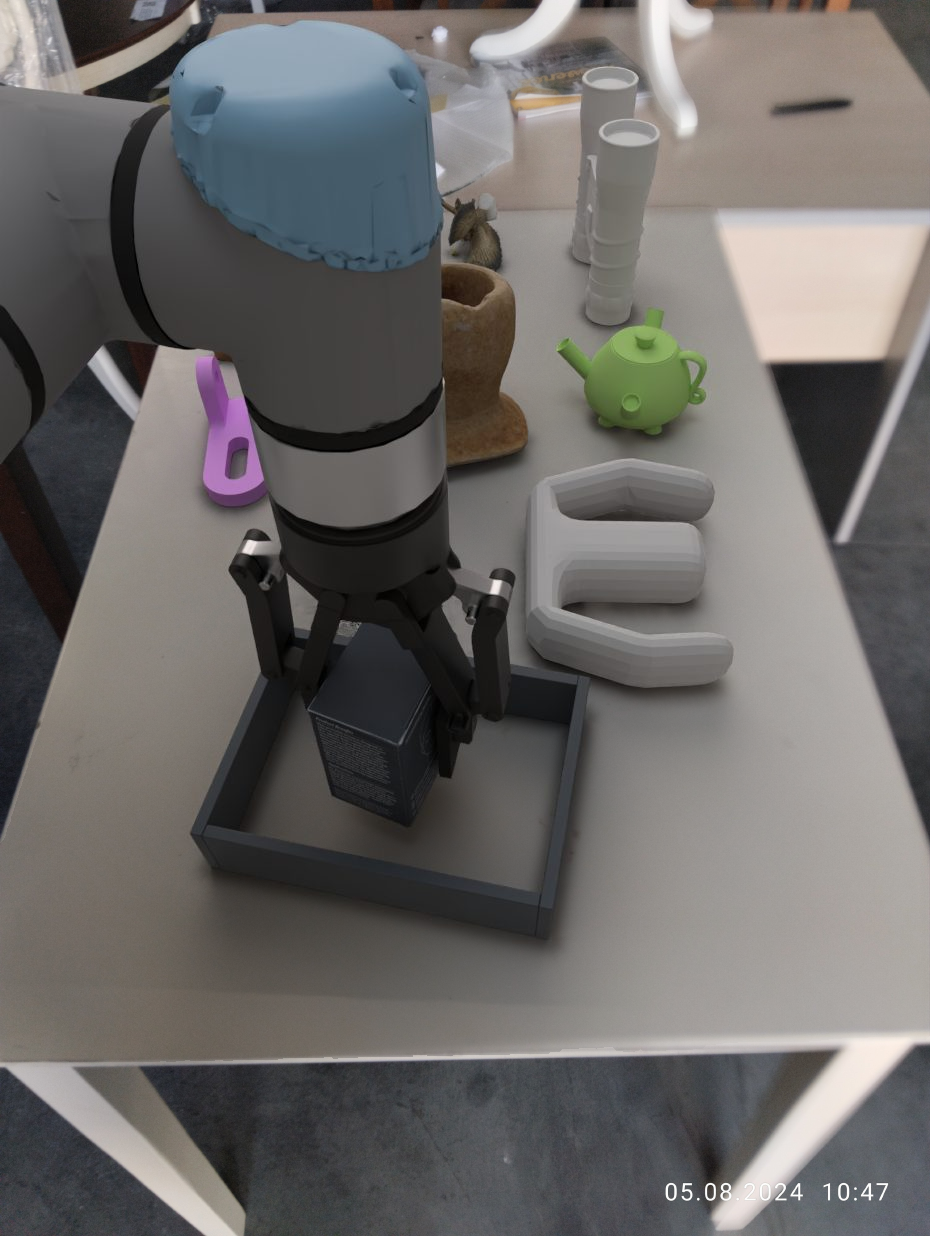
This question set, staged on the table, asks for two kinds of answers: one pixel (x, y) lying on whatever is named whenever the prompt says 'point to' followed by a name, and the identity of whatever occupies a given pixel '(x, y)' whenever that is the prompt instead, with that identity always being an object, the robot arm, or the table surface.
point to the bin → (370, 877)
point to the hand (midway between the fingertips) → (395, 747)
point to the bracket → (227, 440)
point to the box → (378, 727)
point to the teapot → (638, 376)
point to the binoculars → (612, 190)
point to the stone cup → (478, 364)
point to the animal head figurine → (476, 230)
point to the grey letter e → (620, 571)
